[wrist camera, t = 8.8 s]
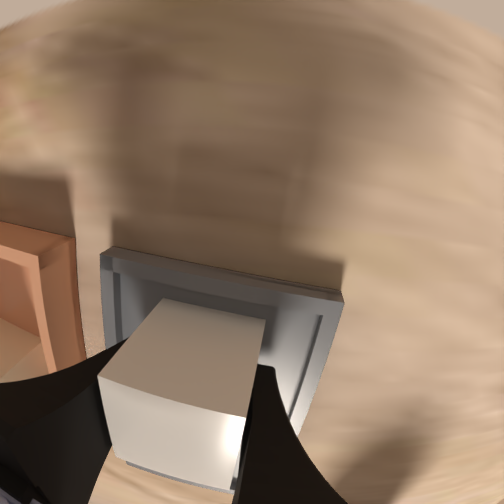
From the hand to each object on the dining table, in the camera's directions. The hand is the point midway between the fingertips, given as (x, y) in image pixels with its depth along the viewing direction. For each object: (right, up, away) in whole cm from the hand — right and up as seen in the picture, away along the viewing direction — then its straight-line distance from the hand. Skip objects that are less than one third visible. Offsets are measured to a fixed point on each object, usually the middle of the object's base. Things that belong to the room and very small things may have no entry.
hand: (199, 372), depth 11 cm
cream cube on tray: (0, 0, +1) cm, 1 cm away
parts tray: (0, -3, +3) cm, 4 cm away
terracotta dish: (-11, +1, +3) cm, 11 cm away
